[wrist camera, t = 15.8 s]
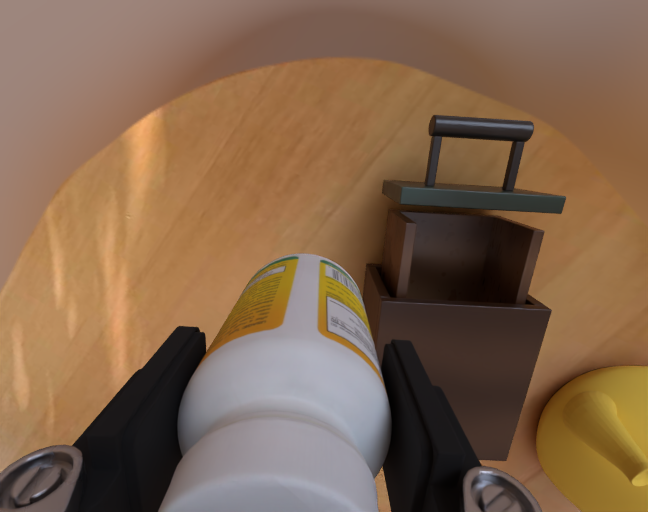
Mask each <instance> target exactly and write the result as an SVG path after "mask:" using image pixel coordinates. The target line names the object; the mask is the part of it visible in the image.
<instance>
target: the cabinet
mask: <svg viewBox="0 0 648 512" xmlns="http://www.w3.org/2000/svg"><path fill="white" fill-rule="evenodd" d="M381 269H382V264H366V271H365V280H364V290H363V299H362V300H363V303H364V307H365V311H366V315H367V318H368V323H369V327H370V331H371V334H372V338H373V342H374V345H375V349H376V353H377V357H378V361H379V364H380V368H381V365H382V359H383V352H384V346H385V344H390V343H391V340H392V339H396V340H410V341H411V342H412V344H413V346H414V348H415V350H416V352H417V354H418V356H419V358H420V361H421V363H422V365H423V367H424V369H425V371H426V373H427V375H428V377H429V379H430V381H431V383H432V385H434V386H439V387H441V389H442V390H443V392H444V394H445V396H446V398H447V400H448V402H449V404H450V405H451V407H452V409H453V411H454V413H455V415H456V417H457V419H458V421H459V423H460V425H461V427H462V429H463V431H464V433H465V435H466V437H467V438H468V440H469V442H470V444H471V446H472V448H473V450H474V452H475V454H476V456H477V458H478V460H495V461H506V460H507V457H508V454H509V450H510V447H511V444H512V440H513V437H514V434H515V431H516V427H517V424H518V421H519V417H520V414H521V411H522V407H523V404H524V401H525V397H526V394H527V391H528V387H529V384H530V381H531V377H532V374H533V371H534V368H535V364H536V361H537V358H538V354H539V351H540V348H541V344H542V341H543V338H544V334H545V331H546V328H547V324H548V321H549V318H550V314H551V311H552V310H551V309H549V308H548V307H546V306H545V305H543V304H542V303H540V302H539V301H537V300H536V299H534V298H533V297H531V296H530V295H528V294H527V298H526V301H525V305H524V304H505V303H486V302H467V301H448V300H429V299H410V298H391V297H390V296H389V294H388V292H387V290H386V288H385V286H384V283H383V281H382V279H381Z"/></svg>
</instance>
